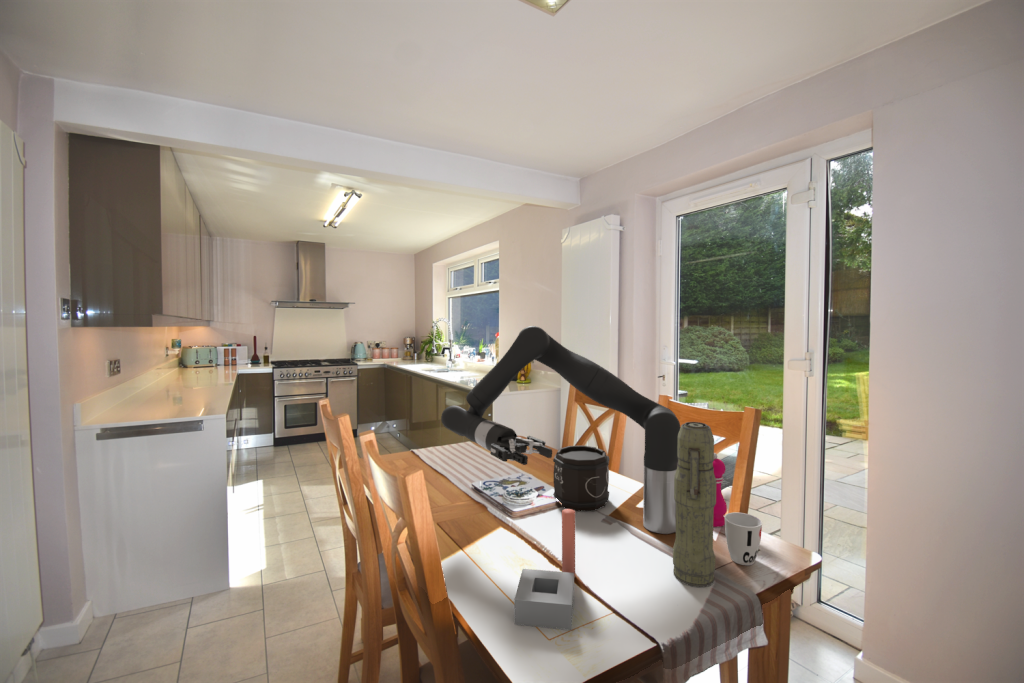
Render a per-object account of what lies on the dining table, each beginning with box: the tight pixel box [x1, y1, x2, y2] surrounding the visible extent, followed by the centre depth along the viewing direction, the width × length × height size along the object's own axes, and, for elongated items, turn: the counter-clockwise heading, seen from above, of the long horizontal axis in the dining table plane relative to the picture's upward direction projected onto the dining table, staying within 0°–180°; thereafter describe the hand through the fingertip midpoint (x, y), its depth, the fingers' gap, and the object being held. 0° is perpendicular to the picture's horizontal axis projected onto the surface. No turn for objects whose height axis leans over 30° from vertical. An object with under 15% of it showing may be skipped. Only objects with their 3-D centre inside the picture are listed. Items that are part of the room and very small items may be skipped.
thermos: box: [672, 421, 716, 588], centre depth 106 cm, size 9×12×35 cm
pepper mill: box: [713, 452, 728, 528], centre depth 133 cm, size 7×7×20 cm
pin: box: [561, 508, 576, 578], centre depth 108 cm, size 3×3×15 cm
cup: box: [724, 511, 763, 566], centre depth 114 cm, size 8×8×10 cm
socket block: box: [513, 568, 575, 631], centre depth 96 cm, size 11×11×5 cm
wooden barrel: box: [552, 445, 610, 512], centre depth 150 cm, size 18×18×16 cm
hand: (539, 457), depth 113 cm, fingers open, 8 cm apart
